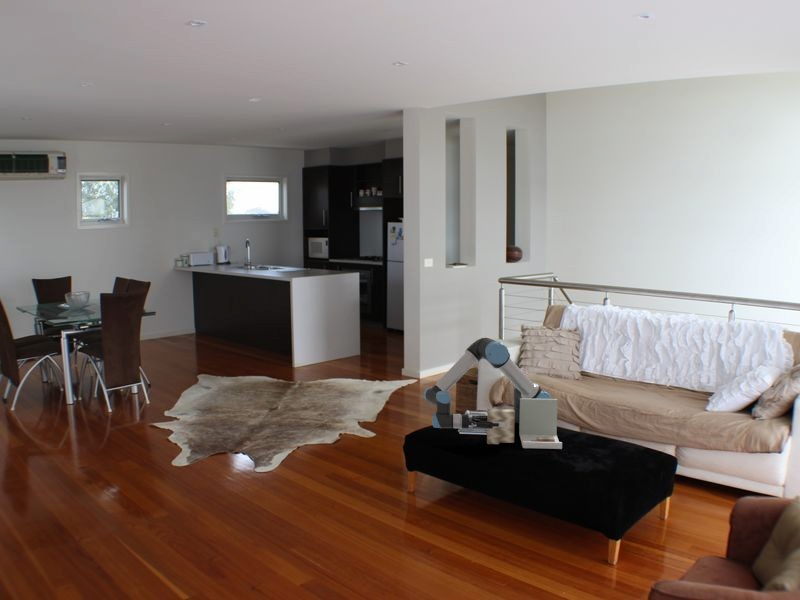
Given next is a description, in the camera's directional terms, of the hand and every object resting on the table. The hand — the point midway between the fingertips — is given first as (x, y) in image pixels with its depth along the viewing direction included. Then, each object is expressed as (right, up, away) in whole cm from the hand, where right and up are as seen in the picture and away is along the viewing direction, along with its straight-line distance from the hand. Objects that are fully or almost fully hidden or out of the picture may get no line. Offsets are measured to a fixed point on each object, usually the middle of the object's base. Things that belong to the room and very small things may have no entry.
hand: (504, 422), depth 380 cm
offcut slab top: (+21, -9, -5) cm, 23 cm away
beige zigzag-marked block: (-2, -11, +2) cm, 12 cm away
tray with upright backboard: (+19, -11, +2) cm, 22 cm away
